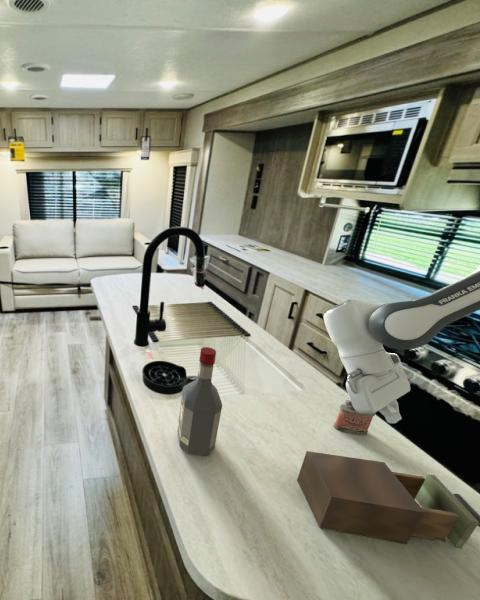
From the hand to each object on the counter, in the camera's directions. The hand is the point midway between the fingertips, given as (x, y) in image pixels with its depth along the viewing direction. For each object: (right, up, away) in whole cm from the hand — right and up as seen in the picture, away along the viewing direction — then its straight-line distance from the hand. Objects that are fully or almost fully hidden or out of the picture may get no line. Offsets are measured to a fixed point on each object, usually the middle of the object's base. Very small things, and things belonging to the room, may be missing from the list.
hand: (395, 421), depth 74 cm
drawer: (-4, -18, -7) cm, 20 cm away
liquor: (-43, -12, +14) cm, 46 cm away
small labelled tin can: (+4, -9, +17) cm, 20 cm away
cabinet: (-15, -18, -4) cm, 24 cm away
